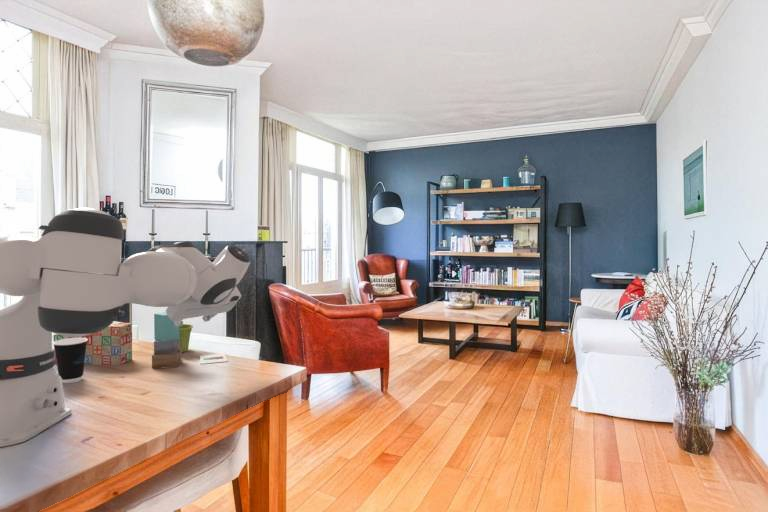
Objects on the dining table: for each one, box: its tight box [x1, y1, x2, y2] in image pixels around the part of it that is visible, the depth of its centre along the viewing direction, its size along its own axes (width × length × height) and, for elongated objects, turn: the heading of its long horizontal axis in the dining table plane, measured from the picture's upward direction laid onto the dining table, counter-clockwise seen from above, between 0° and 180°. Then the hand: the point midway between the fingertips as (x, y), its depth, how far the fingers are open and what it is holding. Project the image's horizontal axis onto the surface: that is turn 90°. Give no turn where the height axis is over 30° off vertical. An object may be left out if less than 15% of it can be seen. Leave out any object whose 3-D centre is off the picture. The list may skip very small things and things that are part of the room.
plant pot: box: [179, 323, 194, 353], centre depth 156 cm, size 9×9×9 cm
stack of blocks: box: [53, 321, 133, 366], centre depth 142 cm, size 21×6×12 cm, turn 88°
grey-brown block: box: [151, 339, 183, 369], centre depth 139 cm, size 7×7×8 cm
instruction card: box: [199, 353, 228, 365], centre depth 147 cm, size 10×8×1 cm
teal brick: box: [153, 311, 179, 342], centre depth 139 cm, size 5×5×8 cm
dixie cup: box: [52, 338, 88, 384], centre depth 124 cm, size 8×8×11 cm
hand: (191, 322), depth 133 cm, fingers open, 8 cm apart
